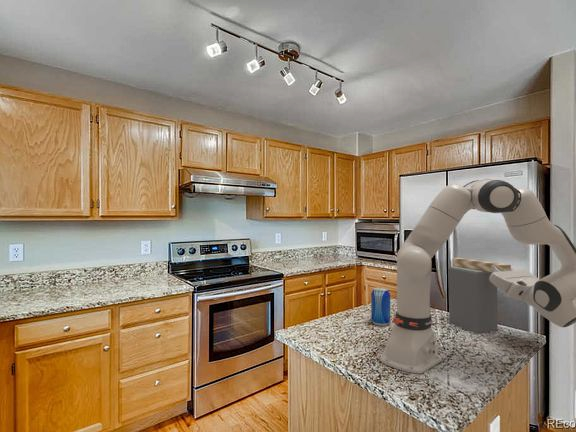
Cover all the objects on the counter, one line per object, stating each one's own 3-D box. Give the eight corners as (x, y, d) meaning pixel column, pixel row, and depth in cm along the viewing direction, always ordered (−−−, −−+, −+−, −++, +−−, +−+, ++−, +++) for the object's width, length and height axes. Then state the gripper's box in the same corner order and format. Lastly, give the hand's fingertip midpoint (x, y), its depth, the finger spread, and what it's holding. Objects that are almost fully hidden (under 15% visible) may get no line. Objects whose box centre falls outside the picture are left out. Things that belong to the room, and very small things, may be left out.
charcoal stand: (497, 330, 132) (497, 270, 132) (477, 333, 128) (477, 271, 128) (468, 320, 145) (468, 265, 145) (449, 323, 141) (449, 266, 141)
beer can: (374, 319, 146) (373, 286, 146) (392, 322, 142) (392, 288, 142) (369, 324, 139) (369, 289, 139) (388, 328, 135) (387, 291, 135)
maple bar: (510, 273, 123) (510, 264, 123) (503, 274, 121) (503, 265, 121) (459, 265, 145) (458, 257, 145) (452, 265, 144) (452, 258, 144)
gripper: (550, 281, 117) (517, 259, 128) (514, 285, 110) (483, 261, 121) (541, 293, 120) (510, 271, 131) (505, 298, 113) (475, 274, 124)
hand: (496, 266), depth 126 cm, fingers closed on maple bar, 4 cm apart
